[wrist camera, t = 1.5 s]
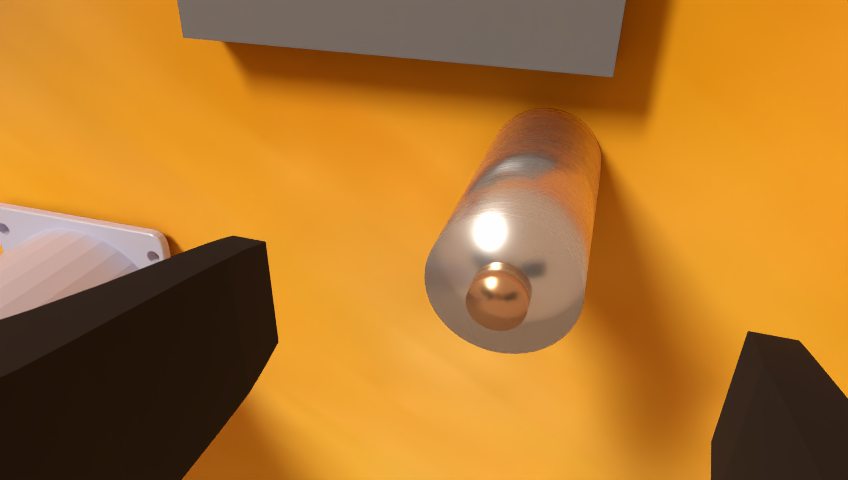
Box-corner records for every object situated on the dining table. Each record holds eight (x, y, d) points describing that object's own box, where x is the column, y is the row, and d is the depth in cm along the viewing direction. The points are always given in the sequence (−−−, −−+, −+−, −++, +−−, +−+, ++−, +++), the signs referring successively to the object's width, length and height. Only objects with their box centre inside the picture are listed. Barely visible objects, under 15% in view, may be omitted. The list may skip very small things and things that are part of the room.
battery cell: (592, 219, 19) (569, 386, 13) (486, 203, 20) (414, 354, 13) (610, 115, 17) (594, 245, 11) (494, 102, 18) (417, 218, 12)
